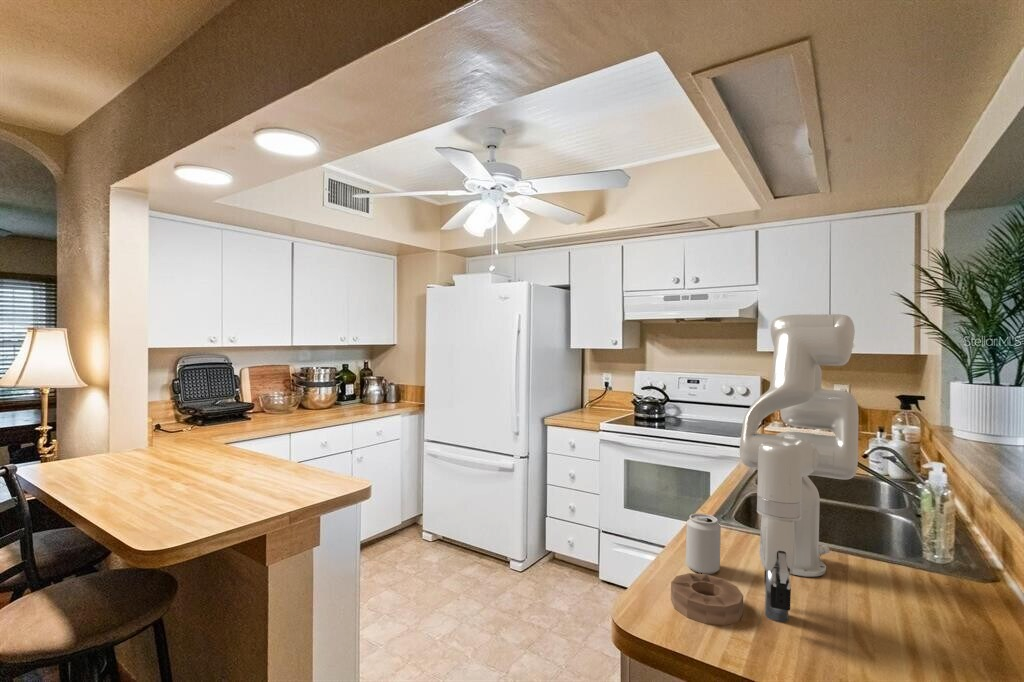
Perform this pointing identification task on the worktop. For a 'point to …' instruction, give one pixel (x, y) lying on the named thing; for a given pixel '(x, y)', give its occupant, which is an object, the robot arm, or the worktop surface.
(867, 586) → the worktop surface
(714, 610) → the bead
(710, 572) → the can
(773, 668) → the worktop surface
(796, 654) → the worktop surface
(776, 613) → the peg
